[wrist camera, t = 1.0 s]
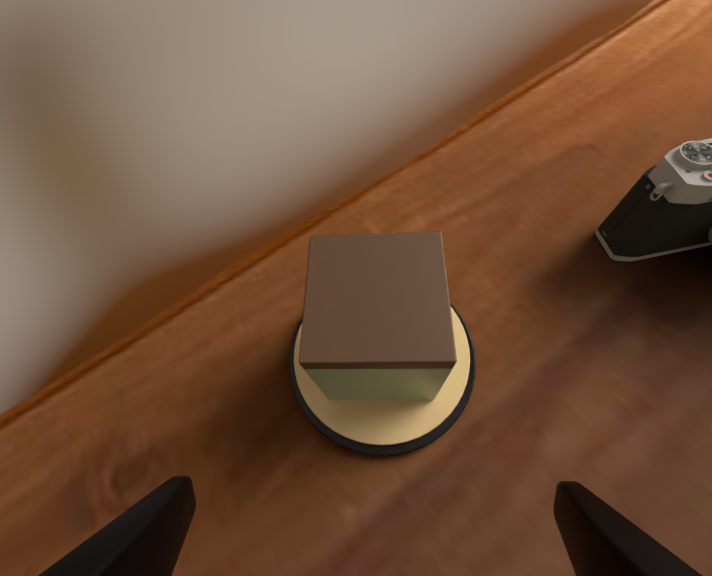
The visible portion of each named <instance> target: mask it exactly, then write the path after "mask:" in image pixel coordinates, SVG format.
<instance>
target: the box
mask: <svg viewBox="0 0 712 576" xmlns="http://www.w3.org/2000/svg"><path fill="white" fill-rule="evenodd" d="M294 368H295V375H296V379H297V383H298V386H299V389H300V391H301V394H302V396H303V398H304V399H305V401H306V403H307V405H308V406H309V407H310V409H311V410H312V411H313V413H314V414H315V415H316V416H317V417H318V418H319V419H320V420H321V421H322V422H323V423H324V424H325V425H327V426H328V427H329V428H331V429H332V430H333V431H335V432H336V433H338V434H340V435H342V436H344V437H346V438H348V439H351V440H354V441H356V442H360V443H365V444H369V445H381V446H383V445H396V444H401V443H406V442H409V441H412V440H414V439H417V438H420V437H421V436H423V435H425V434H427V433H429V432H430V431H432V430H433V429H435V428H436V427H437V426H439V425H440V424H441V423H442V422H443V421H444V420H445V419H446V418H447V417H448V416H449V415H450V414H451V412H452V411H453V410H454V408H455V407H456V406H457V404H458V402H459V400H460V398H461V397H462V395H463V392H464V390H465V387H466V384H467V380H468V375H469V369H470V351H469V345H468V340H467V336H466V333H465V330H464V328H463V325H462V324H461V322H460V320H459V318H458V316H457V315H456V313H455V312H454V310H453V309H452V307H451V306H450V297H449V289H448V280H447V271H446V263H445V254H444V246H443V237H442V232H441V231H435V232H407V233H380V234H353V235H325V236H311V237H310V244H309V255H308V266H307V276H306V287H305V298H304V309H303V320H302V324H301V327H300V329H299V332H298V335H297V338H296V343H295V349H294Z"/></svg>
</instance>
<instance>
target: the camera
mask: <svg viewBox="0 0 712 576" xmlns="http://www.w3.org/2000/svg"><path fill="white" fill-rule="evenodd" d="M595 235H596V237H597V238H598V240H599V241H600V243H601V244H602V246H603V247H604V249H605V251H606V252H607V254H608V255H609V257H610V258H611V259H613V260H616V261H630V262H632V261H637V260H642V259H646V258H651V257H656V256H661V255H666V254H671V253H676V252H680V251H685V250H690V249H695V248H699V247H704V246H709V245H712V138H711V139H706V140H702V141H688V142H685V143H683V144H682V145H680V146H678V147H676V148H675V149H673V150H671V151H670V152H668V153H667V154H666V155H665V157H664V158H663V159H662V160H661V161H660V162H659V163H658V164H657V165H655V166H653V167H652V168H650V169H649V170H647V171H646V172H645V173H644V174H643V175H642V177H641V178H640V179H639V180H638V181H637V183H636V184H635V185H634V186H633V187H632V188H631V190H630V191H629V192H628V193H627V194H626V196H625V197H624V198H623V199H622V200H621V202H620V203H619V204H618V205H617V206H616V207H615V209H614V210H613V211H612V212H611V213H610V215H609V216H608V217H607V218H606V219H605V220H604V222H603V223H602V224H601V225H600V226H599V227H598V229H597V230H596V231H595Z"/></svg>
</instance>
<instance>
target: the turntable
mask: <svg viewBox="0 0 712 576" xmlns="http://www.w3.org/2000/svg"><path fill="white" fill-rule="evenodd" d="M450 306H451V307H452V309H453V310H454V312H455V313H456V315H457V316H458V318H459V320H460V322H461V324H462V325H463V328H464V330H465V333H466V336H467V340H468V345H469V351H470V369H469V375H468V380H467V384H466V387H465V390H464V392H463V395H462V397H461V398H460V400H459V402H458V404H457V406H456V407H455V408H454V410H453V411H452V412H451V414H450V415H449V416H448V417H447V418H446V419H445V420H444V421H443V422H442V423H441V424H440V425H439V426H437V427H436V428H435V429H433V430H432V431H430V432H429V433H427V434H425V435H423V436H421V437H420V438H417V439H414V440H412V441H409V442H406V443H401V444H396V445H383V446H381V445H369V444H365V443H360V442H356V441H354V440H351V439H348V438H346V437H344V436H342V435H340V434H338V433H336V432H335V431H333V430H332V429H331V428H329V427H328V426H327V425H325V424H324V423H323V422H322V421H321V420H320V419H319V418H318V417H317V416H316V415H315V414H314V413H313V411H312V410H311V409H310V407H309V406H308V405H307V403H306V401H305V399H304V398H303V396H302V394H301V391H300V389H299V386H298V383H297V379H296V375H295V368H294V349H295V343H296V338H297V335H298V332H299V329H300V327H301V324H302V320H303V317H302V319H301V321H300V322H299V325H298V327H297V329H296V331H295V334H294V337H293V340H292V344H291V350H290V360H289V369H290V378H291V383H292V387H293V391H294V393H295V396H296V399H297V401H298V403H299V405H300V407H301V409H302V410H303V412H304V414H305V415H306V416H307V418H308V419H309V420H310V422H311V423H312V424H313V425H314V426H315V427H316V428H317V429H318V430H319V431H320V432H321V433H322V434H324V435H325V436H326V437H328V438H329V439H330V440H332V441H334V442H335V443H337V444H339V445H341V446H342V447H345V448H347V449H350V450H352V451H355V452H359V453H363V454H367V455H376V456H391V455H399V454H404V453H409V452H412V451H414V450H417V449H420V448H422V447H424V446H426V445H428V444H430V443H431V442H433V441H435V440H436V439H437V438H439V437H440V436H441V435H443V434H444V433H445V432H446V431H447V430H448V429H449V428H450V427H451V426H452V425H453V424H454V423H455V422H456V420H457V419H458V418H459V416H460V415H461V414H462V412H463V410H464V408H465V406H466V404H467V403H468V400H469V398H470V395H471V392H472V389H473V384H474V379H475V369H476V361H475V351H474V346H473V342H472V339H471V336H470V333H469V330H468V328H467V326H466V324H465V322H464V320H463V319H462V317H461V316H460V314H459V313H458V311H457V310H456V309H455V307H454V306H453V305H452V304H451V303H450Z"/></svg>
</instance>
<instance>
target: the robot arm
mask: <svg viewBox="0 0 712 576" xmlns="http://www.w3.org/2000/svg"><path fill="white" fill-rule="evenodd" d="M195 508H196V499H195V495H194V490H193V485H192V481H191V478H190V477H188V476H174V477H172V478H170V479H169V480H167V481H166V482H165V483H163V484H162V485H161V486H159V487H158V488H156V489H155V490H154V491H152V492H151V493H150V494H148V495H147V496H146V497H144V498H143V499H142V500H140V501H139V502H137V503H136V504H135V505H133V506H132V507H131V508H129V509H128V510H127V511H125V512H124V513H123V514H121V515H120V516H118V517H117V518H116V519H114V520H113V521H112V522H110V523H109V524H108V525H106V526H105V527H104V528H102V529H101V530H99V531H98V532H97V533H95V534H94V535H93V536H91V537H90V538H89V539H87V540H86V541H85V542H83V543H82V544H80V545H79V546H78V547H76V548H75V549H74V550H72V551H71V552H70V553H68V554H67V555H66V556H64V557H63V558H61V559H60V560H59V561H57V562H56V563H55V564H53V565H52V566H51V567H49V568H48V569H47V570H45V571H44V572H42V573H41V574H40V575H38V576H171V575H172V572H173V570H174V567H175V564H176V562H177V559H178V556H179V553H180V551H181V548H182V545H183V543H184V540H185V537H186V534H187V532H188V529H189V526H190V523H191V521H192V518H193V515H194V512H195ZM554 516H555V520H556V523H557V525H558V528H559V531H560V533H561V536H562V539H563V542H564V544H565V547H566V550H567V552H568V555H569V558H570V560H571V563H572V566H573V568H574V571H575V574H576V576H702V575H701V574H699V573H698V572H697V571H696V570H694V569H693V568H692V567H690V566H689V565H688V564H686V563H685V562H684V561H682V560H681V559H680V558H678V557H677V556H676V555H674V554H673V553H672V552H670V551H669V550H668V549H666V548H665V547H664V546H662V545H661V544H660V543H658V542H657V541H656V540H654V539H653V538H652V537H650V536H649V535H648V534H646V533H645V532H644V531H642V530H641V529H640V528H638V527H637V526H636V525H634V524H633V523H632V522H630V521H629V520H628V519H626V518H625V517H624V516H623V515H621V514H620V513H619V512H617V511H616V510H615V509H613V508H612V507H611V506H609V505H608V504H607V503H605V502H604V501H603V500H601V499H600V498H599V497H597V496H596V495H595V494H593V493H592V492H591V491H589V490H588V489H587V488H585V487H584V486H583V485H581V484H580V483H578V482H575V481H560V482H559V483H558V484H557V488H556V495H555V501H554Z"/></svg>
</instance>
